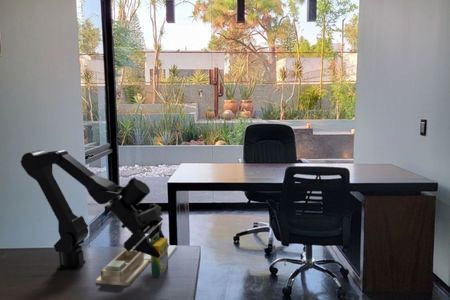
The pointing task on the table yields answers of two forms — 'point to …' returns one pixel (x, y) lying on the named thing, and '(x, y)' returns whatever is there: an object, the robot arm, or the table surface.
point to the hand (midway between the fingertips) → (163, 251)
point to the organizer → (123, 268)
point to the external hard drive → (170, 252)
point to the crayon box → (162, 262)
